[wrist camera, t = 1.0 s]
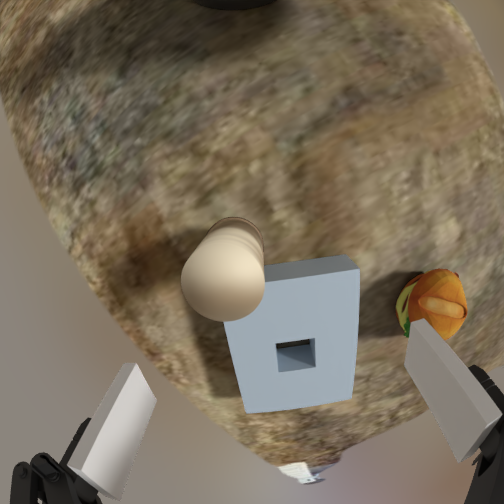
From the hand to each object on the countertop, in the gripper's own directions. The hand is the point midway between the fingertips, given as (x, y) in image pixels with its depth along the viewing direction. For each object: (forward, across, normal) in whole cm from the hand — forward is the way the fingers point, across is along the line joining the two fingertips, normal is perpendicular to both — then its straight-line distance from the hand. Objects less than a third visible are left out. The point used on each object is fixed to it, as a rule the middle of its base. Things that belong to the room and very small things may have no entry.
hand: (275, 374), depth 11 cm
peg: (+21, -3, +2) cm, 21 cm away
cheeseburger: (+21, +20, -11) cm, 32 cm away
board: (+21, +2, -13) cm, 25 cm away
